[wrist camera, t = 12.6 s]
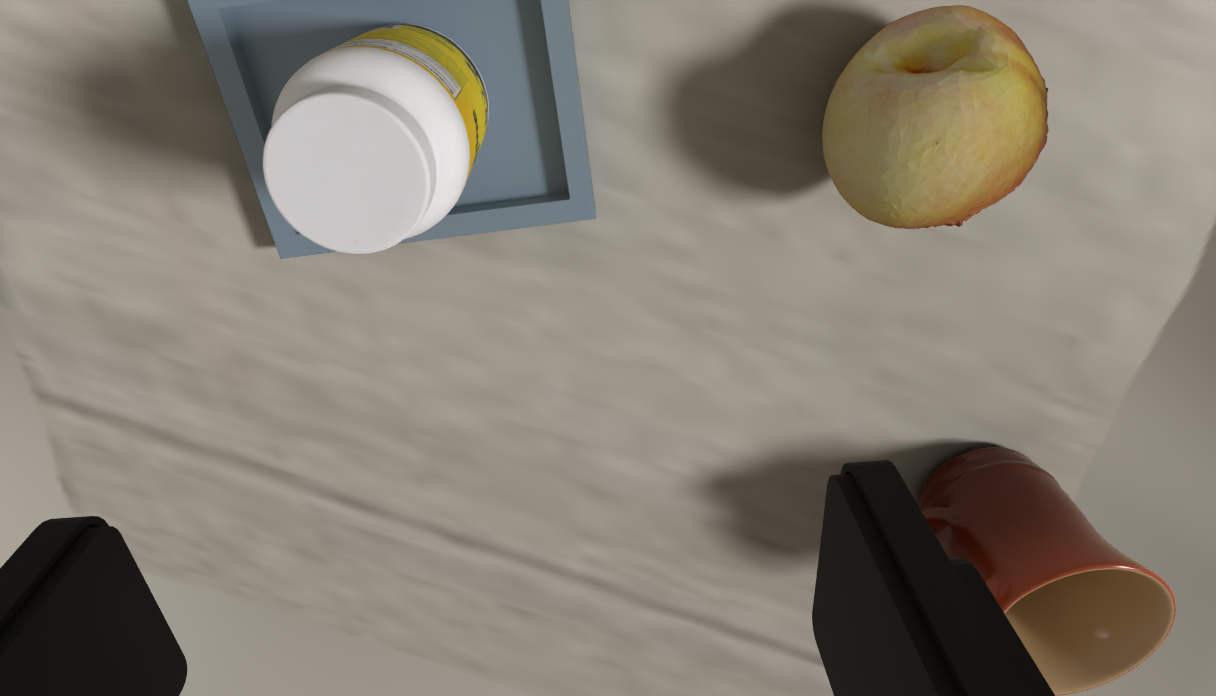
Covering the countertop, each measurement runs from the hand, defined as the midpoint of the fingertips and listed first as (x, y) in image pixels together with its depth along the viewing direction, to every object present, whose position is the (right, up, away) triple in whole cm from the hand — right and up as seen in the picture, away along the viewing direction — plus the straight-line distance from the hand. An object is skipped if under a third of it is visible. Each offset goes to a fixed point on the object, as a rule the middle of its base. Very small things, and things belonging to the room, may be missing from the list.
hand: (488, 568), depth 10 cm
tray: (-7, +13, +21) cm, 26 cm away
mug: (+21, -5, +33) cm, 39 cm away
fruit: (+14, +14, +22) cm, 29 cm away
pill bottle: (-6, +13, +21) cm, 25 cm away
